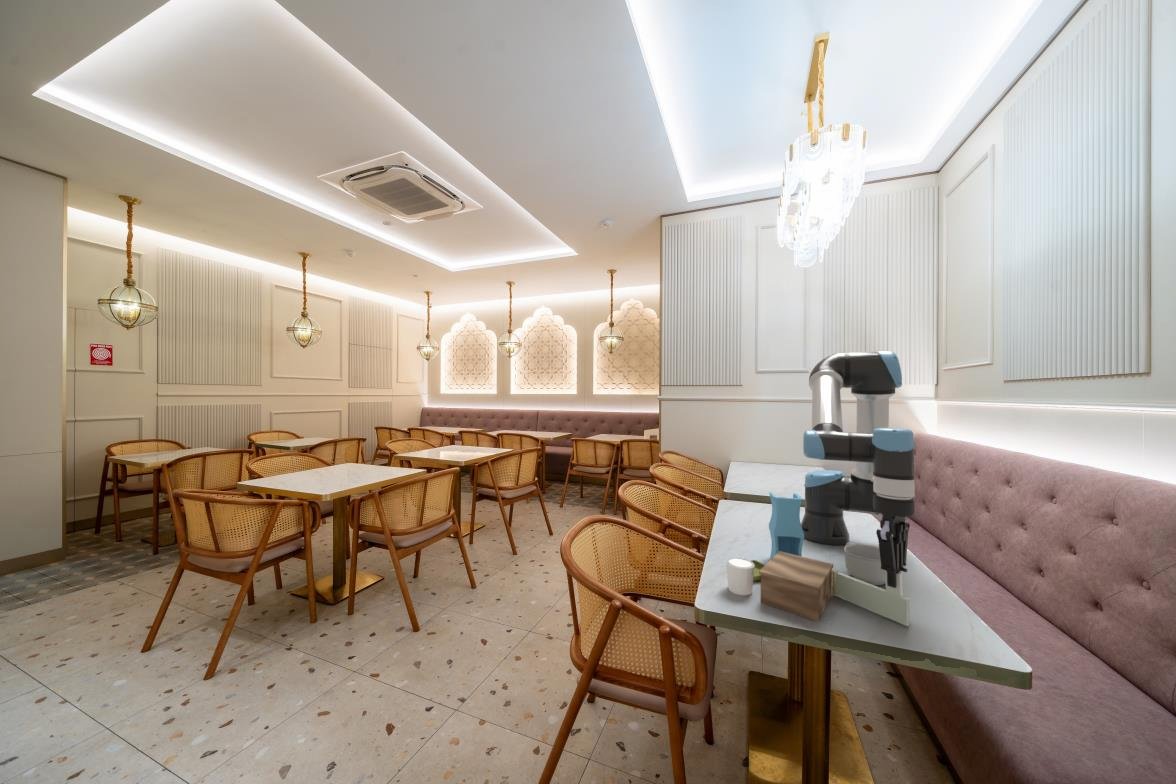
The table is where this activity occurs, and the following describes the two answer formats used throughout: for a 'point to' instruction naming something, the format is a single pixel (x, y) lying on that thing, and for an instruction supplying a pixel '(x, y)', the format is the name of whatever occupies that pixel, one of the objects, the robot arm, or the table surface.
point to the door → (871, 597)
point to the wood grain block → (796, 584)
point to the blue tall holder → (786, 525)
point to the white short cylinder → (740, 575)
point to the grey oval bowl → (864, 563)
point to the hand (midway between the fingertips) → (894, 599)
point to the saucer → (757, 570)
